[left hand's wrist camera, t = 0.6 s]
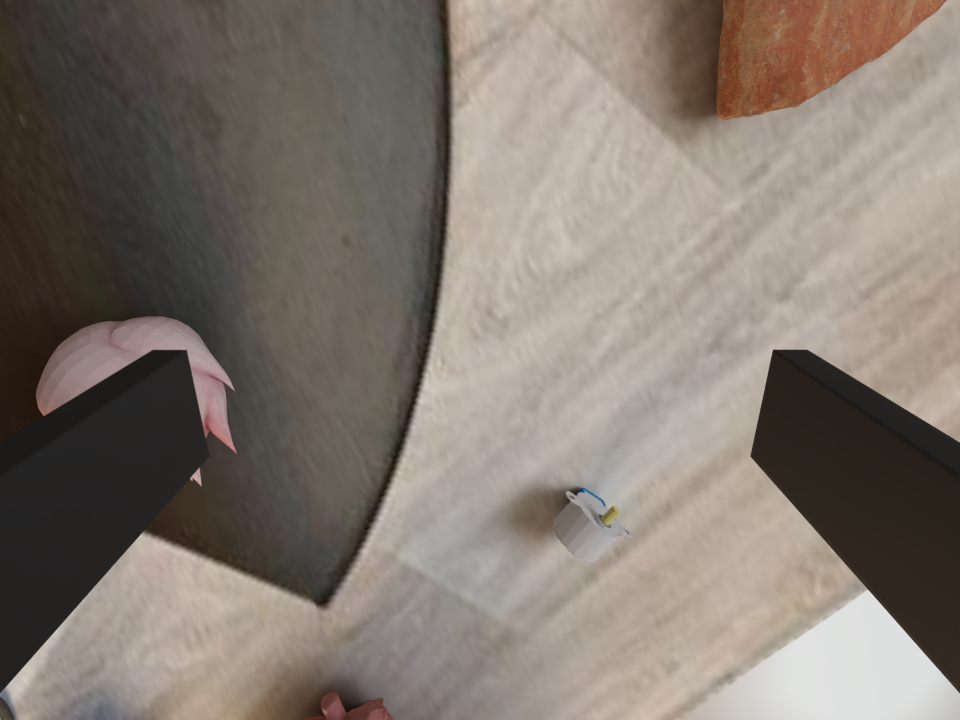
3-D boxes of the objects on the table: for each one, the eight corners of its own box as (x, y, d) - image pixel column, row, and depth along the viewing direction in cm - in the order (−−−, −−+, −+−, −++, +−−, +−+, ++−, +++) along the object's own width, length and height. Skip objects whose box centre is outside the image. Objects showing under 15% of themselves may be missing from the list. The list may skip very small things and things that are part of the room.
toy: (222, 508, 45) (296, 370, 39) (99, 588, 35) (176, 419, 29) (118, 420, 46) (176, 275, 41) (-30, 474, 36) (21, 291, 31)
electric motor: (636, 501, 46) (653, 540, 41) (599, 537, 47) (612, 579, 43) (573, 460, 45) (585, 496, 40) (538, 499, 46) (544, 538, 41)
